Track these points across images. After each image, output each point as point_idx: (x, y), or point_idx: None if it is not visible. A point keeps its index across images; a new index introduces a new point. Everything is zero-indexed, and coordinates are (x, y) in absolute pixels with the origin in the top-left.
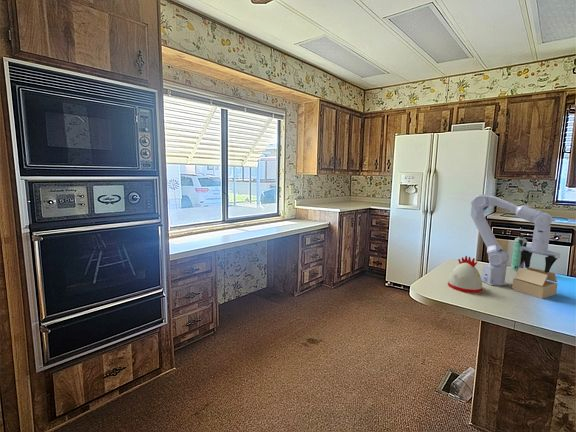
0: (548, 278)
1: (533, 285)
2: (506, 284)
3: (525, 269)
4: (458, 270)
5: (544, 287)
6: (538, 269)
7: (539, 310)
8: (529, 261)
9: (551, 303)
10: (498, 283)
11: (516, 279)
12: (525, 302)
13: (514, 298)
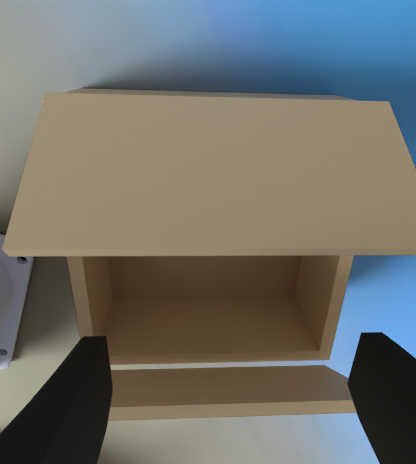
0: (304, 133)
1: (254, 355)
2: (29, 270)
3: (133, 419)
4: None
5: (331, 344)
6: (209, 255)
7: (346, 445)
8: (68, 435)
9: (361, 323)
10: (5, 322)
11: (111, 362)
12: (270, 419)
13: (213, 419)
